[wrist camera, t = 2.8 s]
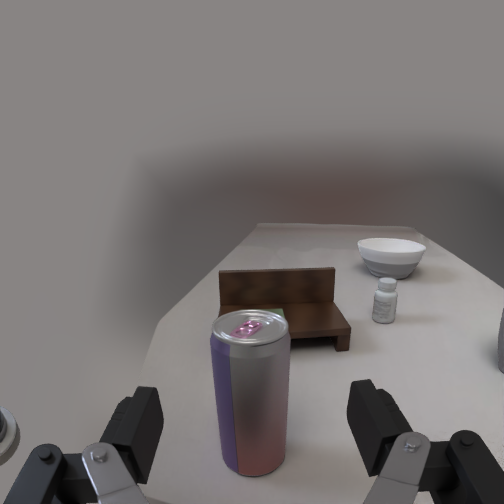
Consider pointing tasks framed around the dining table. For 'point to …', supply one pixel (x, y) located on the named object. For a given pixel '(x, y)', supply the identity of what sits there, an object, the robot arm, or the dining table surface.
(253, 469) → the beverage can
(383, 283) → the pill bottle
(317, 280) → the wooden stand
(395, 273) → the bowl
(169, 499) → the dining table surface
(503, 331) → the mug
